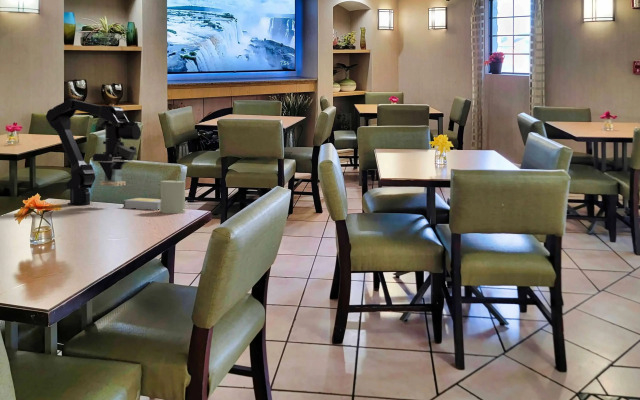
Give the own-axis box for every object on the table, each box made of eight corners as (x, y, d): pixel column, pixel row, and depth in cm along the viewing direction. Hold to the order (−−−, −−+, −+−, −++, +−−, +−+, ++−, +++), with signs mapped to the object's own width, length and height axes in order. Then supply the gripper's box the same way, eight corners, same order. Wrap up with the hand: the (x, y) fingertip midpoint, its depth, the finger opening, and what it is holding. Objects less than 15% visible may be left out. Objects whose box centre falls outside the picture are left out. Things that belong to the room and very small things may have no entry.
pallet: (100, 185, 227) (100, 169, 226) (109, 184, 232) (109, 168, 232) (117, 186, 225) (117, 170, 225) (125, 185, 231) (125, 169, 230)
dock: (123, 207, 228) (123, 199, 228) (138, 205, 239) (138, 197, 239) (157, 210, 225) (157, 202, 225) (170, 207, 236) (170, 199, 236)
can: (188, 211, 227) (189, 180, 225) (180, 214, 217) (181, 181, 216) (165, 210, 227) (165, 178, 226) (156, 212, 218) (156, 180, 217)
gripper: (119, 139, 216) (119, 182, 218) (144, 140, 235) (144, 179, 236) (91, 138, 219) (91, 180, 220) (119, 139, 237) (118, 178, 238)
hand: (113, 179), depth 229 cm, fingers closed on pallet, 4 cm apart
